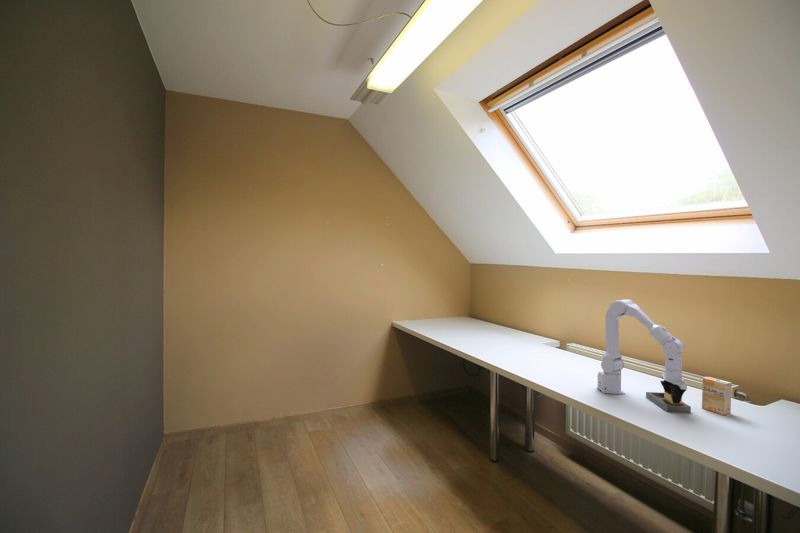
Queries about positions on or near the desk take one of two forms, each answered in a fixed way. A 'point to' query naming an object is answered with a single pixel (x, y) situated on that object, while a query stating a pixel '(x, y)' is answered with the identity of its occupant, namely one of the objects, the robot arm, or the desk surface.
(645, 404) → the desk surface
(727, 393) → the supplement box
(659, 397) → the grey metal flat frame
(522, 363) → the desk surface
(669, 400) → the nut block
